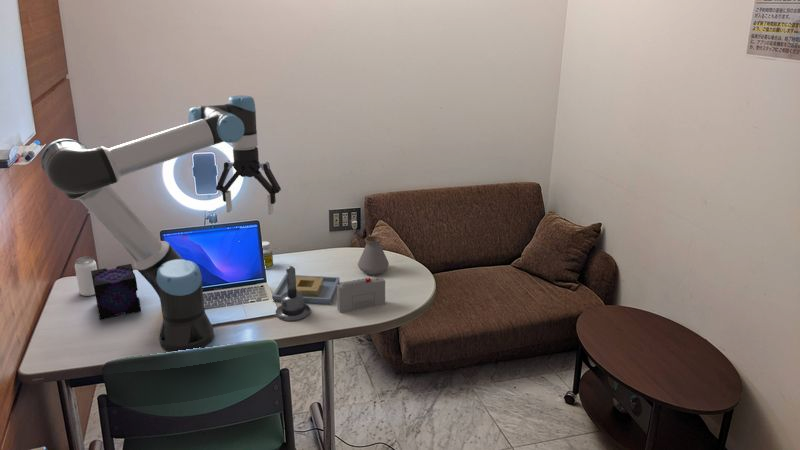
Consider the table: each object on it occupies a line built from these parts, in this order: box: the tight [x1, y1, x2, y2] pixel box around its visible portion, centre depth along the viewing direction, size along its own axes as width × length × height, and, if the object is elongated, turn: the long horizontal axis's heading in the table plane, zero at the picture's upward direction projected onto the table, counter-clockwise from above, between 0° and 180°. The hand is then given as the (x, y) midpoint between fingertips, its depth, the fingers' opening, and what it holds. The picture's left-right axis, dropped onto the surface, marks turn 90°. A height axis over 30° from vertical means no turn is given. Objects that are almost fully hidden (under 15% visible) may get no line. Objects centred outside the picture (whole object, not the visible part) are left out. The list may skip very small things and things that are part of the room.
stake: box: [275, 265, 311, 322], centre depth 189 cm, size 11×11×16 cm
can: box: [74, 256, 98, 297], centre depth 201 cm, size 6×6×12 cm
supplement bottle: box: [261, 241, 274, 270], centre depth 223 cm, size 5×5×10 cm
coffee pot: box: [357, 219, 390, 276], centre depth 224 cm, size 21×12×15 cm, turn 13°
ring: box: [296, 277, 324, 297], centre depth 206 cm, size 12×10×3 cm
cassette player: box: [336, 276, 386, 314], centre depth 195 cm, size 16×3×10 cm, turn 112°
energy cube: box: [91, 263, 142, 321], centre depth 192 cm, size 12×12×12 cm
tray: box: [271, 274, 340, 306], centre depth 206 cm, size 17×20×2 cm
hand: (250, 212), depth 191 cm, fingers open, 13 cm apart
